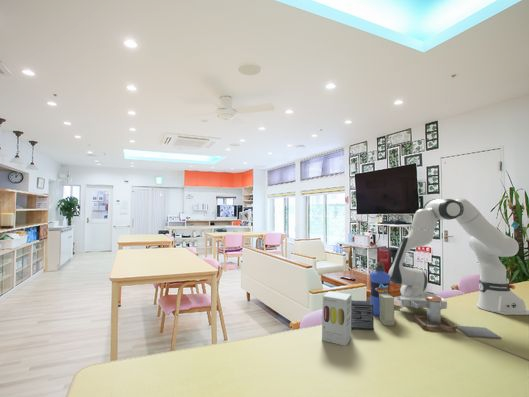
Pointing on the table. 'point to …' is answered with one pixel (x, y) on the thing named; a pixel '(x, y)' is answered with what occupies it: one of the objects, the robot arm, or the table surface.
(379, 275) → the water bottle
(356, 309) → the small box
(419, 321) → the brown wooden square frame
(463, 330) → the charcoal mat
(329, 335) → the supplement box
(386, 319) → the skincare box
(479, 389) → the table surface
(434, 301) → the copper-capped steel post
